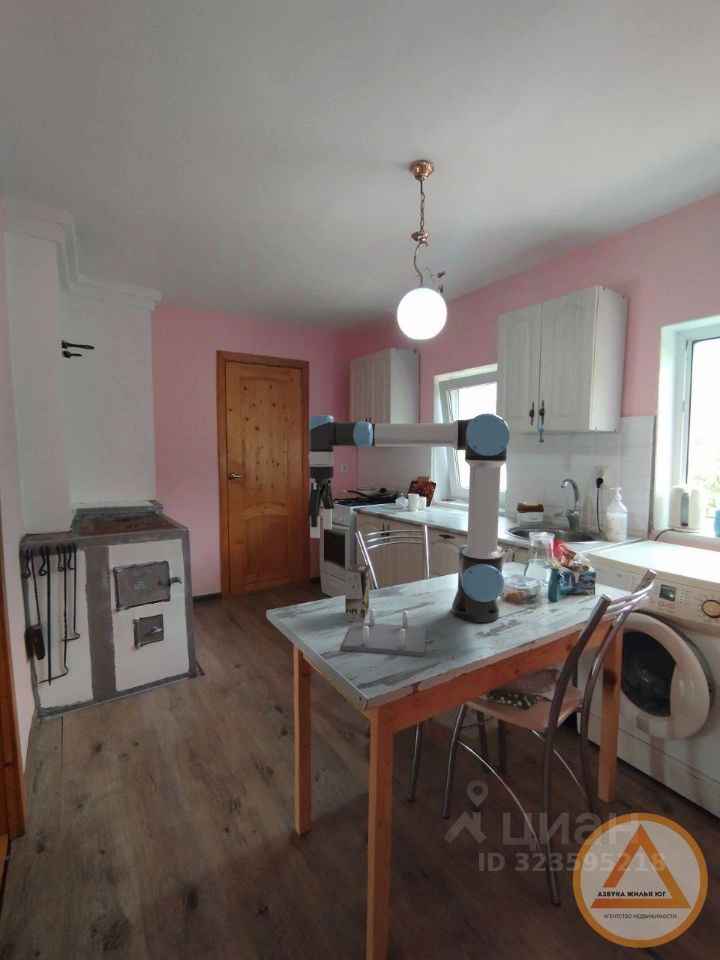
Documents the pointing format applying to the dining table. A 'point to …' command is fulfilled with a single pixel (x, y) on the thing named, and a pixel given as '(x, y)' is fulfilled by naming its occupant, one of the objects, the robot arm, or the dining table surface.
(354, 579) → the coffee box
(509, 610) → the dining table surface
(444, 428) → the robot arm
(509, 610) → the dining table surface
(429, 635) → the dining table surface
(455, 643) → the dining table surface
